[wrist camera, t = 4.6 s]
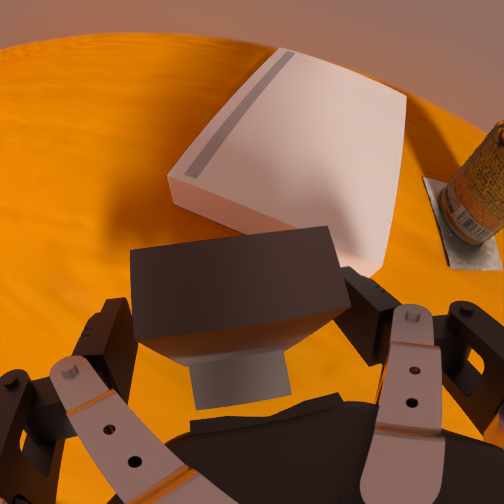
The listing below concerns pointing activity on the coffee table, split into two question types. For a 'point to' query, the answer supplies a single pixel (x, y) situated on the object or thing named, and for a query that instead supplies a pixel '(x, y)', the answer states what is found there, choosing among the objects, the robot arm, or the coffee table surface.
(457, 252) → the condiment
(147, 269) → the dark block with lip
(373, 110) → the board
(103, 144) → the coffee table surface
